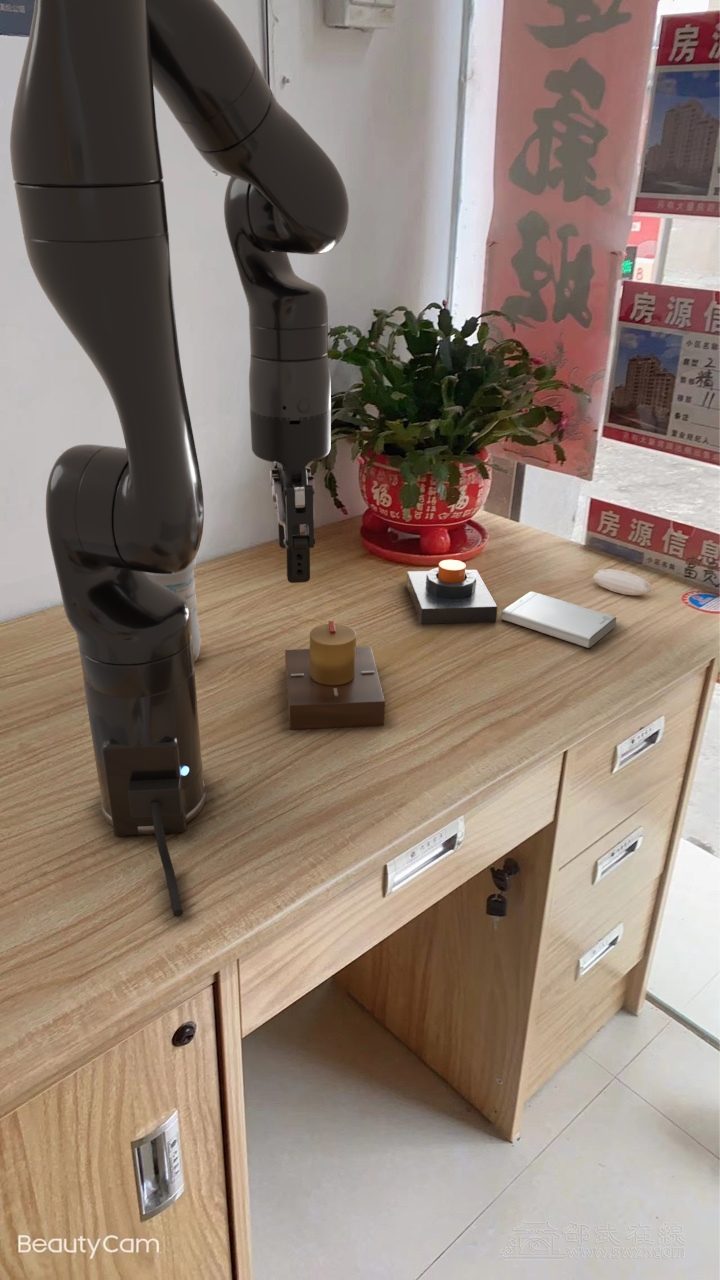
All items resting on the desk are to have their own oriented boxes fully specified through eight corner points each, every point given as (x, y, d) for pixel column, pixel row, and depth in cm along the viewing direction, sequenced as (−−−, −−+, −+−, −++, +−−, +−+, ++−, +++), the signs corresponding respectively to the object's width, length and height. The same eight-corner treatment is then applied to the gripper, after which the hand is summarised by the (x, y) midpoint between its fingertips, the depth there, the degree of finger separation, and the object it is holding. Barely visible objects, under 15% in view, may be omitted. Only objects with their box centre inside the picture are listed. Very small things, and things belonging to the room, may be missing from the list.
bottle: (191, 676, 102) (178, 512, 92) (137, 669, 103) (118, 506, 93) (211, 649, 108) (200, 492, 98) (159, 643, 109) (144, 487, 99)
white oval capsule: (597, 580, 128) (600, 562, 127) (651, 595, 124) (654, 577, 123) (588, 587, 126) (591, 569, 125) (643, 602, 122) (646, 584, 121)
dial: (357, 684, 95) (358, 641, 93) (311, 686, 95) (311, 643, 92) (352, 661, 100) (353, 620, 97) (308, 663, 99) (308, 621, 96)
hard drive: (617, 615, 115) (532, 589, 121) (589, 638, 109) (501, 609, 115) (615, 627, 115) (530, 600, 122) (587, 650, 110) (500, 620, 116)
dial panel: (384, 725, 94) (385, 700, 92) (289, 729, 93) (289, 704, 91) (370, 668, 104) (371, 645, 103) (285, 672, 103) (285, 648, 102)
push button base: (495, 621, 116) (498, 594, 114) (420, 624, 115) (422, 596, 113) (475, 583, 126) (477, 557, 124) (406, 585, 125) (407, 559, 123)
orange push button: (467, 584, 117) (468, 569, 116) (440, 584, 117) (441, 570, 116) (461, 573, 121) (462, 559, 120) (435, 573, 120) (436, 559, 119)
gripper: (245, 386, 87) (252, 538, 95) (255, 425, 75) (262, 596, 83) (320, 384, 89) (321, 535, 97) (342, 423, 76) (341, 591, 84)
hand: (293, 563), depth 90 cm, fingers open, 8 cm apart
